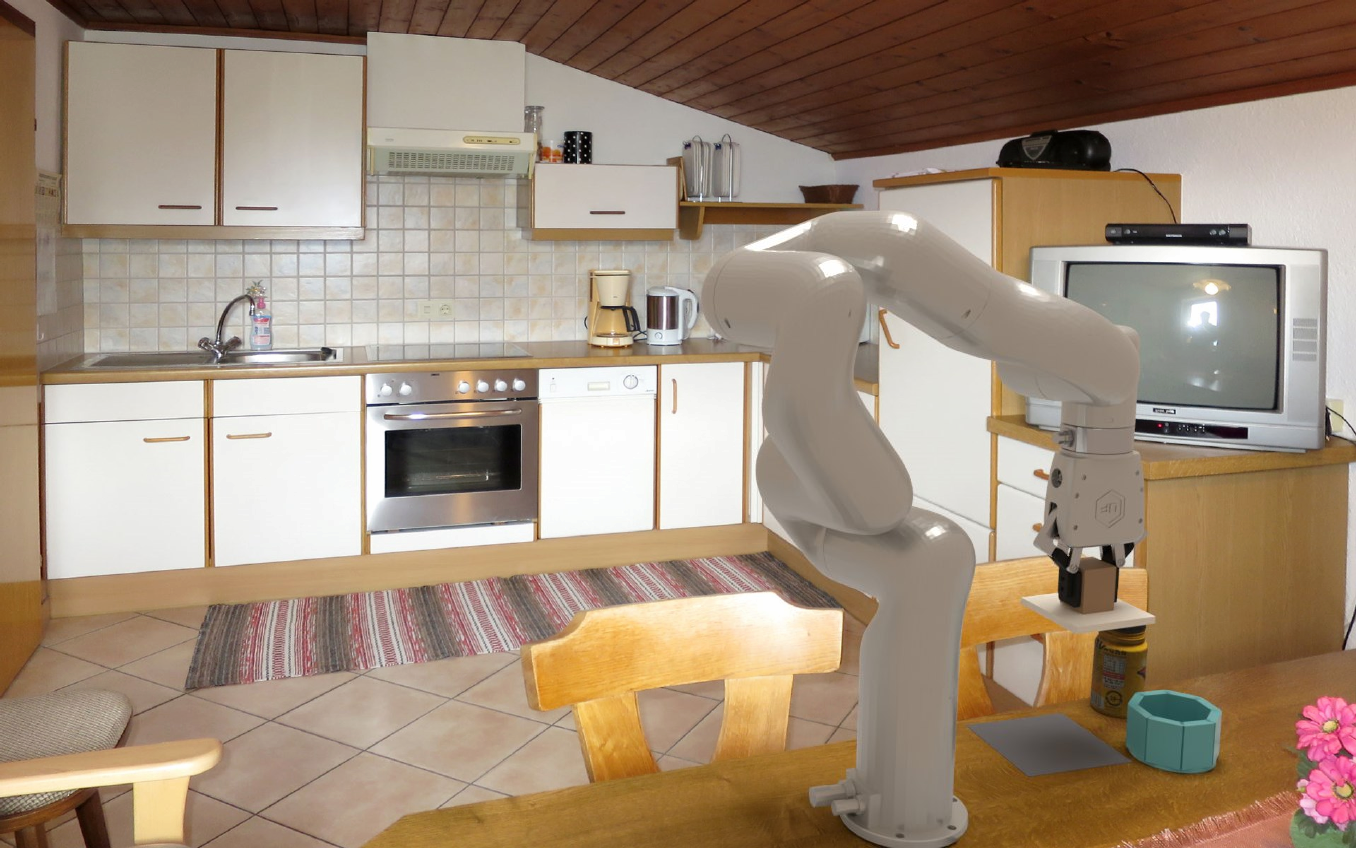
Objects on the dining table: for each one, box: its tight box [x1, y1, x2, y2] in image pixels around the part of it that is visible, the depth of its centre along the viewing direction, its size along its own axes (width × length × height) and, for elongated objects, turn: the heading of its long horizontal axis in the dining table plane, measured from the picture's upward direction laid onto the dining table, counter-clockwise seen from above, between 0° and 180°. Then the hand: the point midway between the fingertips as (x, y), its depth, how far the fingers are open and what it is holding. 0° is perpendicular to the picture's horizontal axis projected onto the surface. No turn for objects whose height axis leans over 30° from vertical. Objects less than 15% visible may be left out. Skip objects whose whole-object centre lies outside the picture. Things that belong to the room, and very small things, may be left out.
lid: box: [1020, 556, 1156, 635], centre depth 123 cm, size 10×10×6 cm
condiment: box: [1089, 625, 1149, 719], centre depth 134 cm, size 7×8×12 cm
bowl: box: [1125, 689, 1223, 774], centre depth 123 cm, size 9×9×6 cm
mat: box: [965, 712, 1133, 778], centre depth 126 cm, size 13×13×1 cm
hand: (1087, 599), depth 123 cm, fingers closed on lid, 4 cm apart
